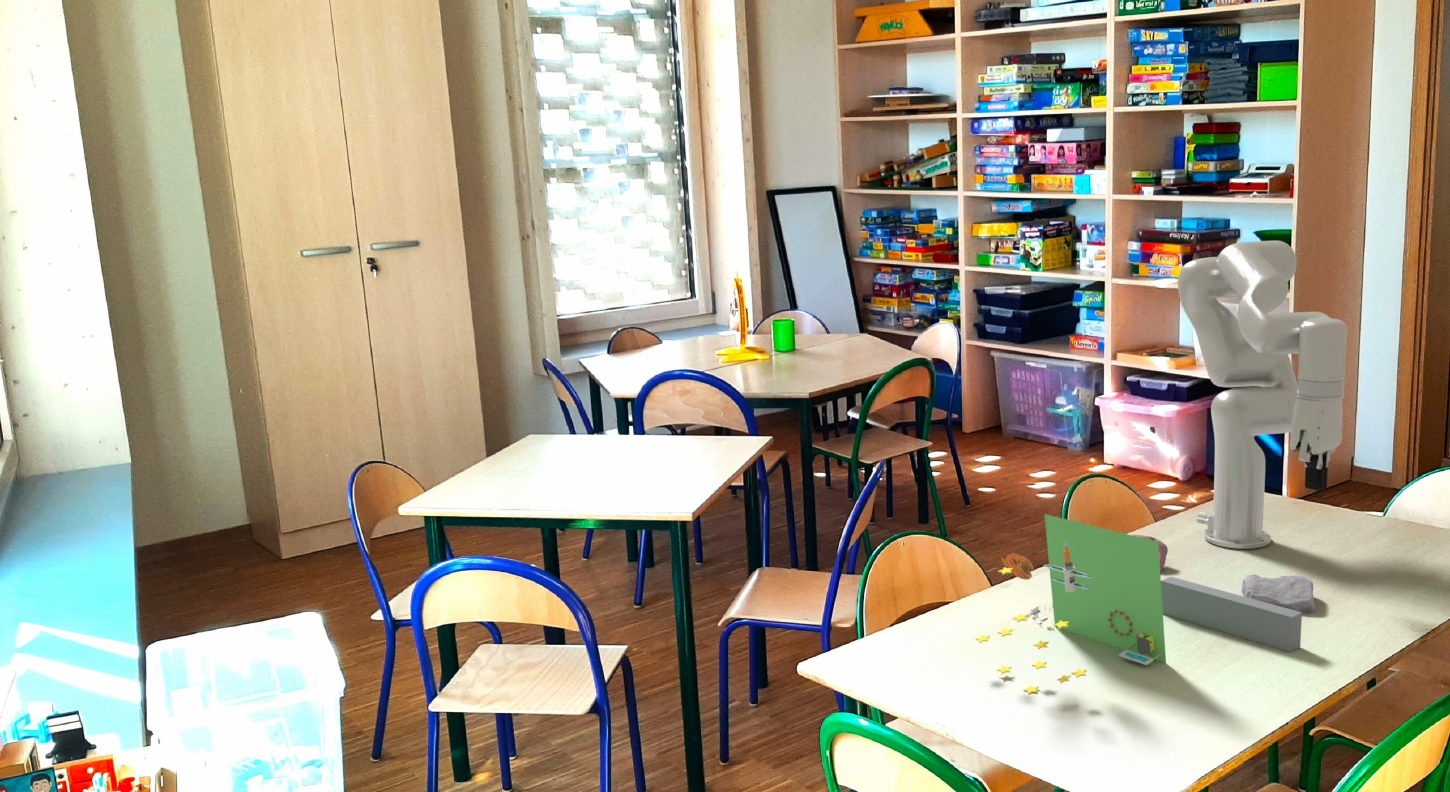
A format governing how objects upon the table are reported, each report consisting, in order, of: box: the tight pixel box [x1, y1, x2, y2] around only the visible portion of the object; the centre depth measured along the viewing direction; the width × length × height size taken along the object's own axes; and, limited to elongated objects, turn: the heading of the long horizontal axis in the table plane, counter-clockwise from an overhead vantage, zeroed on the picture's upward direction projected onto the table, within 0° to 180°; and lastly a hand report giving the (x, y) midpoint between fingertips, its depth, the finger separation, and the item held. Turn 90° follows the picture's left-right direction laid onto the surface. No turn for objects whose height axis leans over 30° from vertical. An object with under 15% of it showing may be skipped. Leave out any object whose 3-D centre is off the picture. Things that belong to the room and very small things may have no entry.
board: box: [1161, 576, 1303, 653], centre depth 213 cm, size 24×3×6 cm, turn 38°
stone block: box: [1241, 574, 1316, 613], centre depth 225 cm, size 12×5×10 cm
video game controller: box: [1131, 534, 1169, 573], centre depth 246 cm, size 10×5×7 cm, turn 58°
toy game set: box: [975, 513, 1167, 695], centre depth 200 cm, size 22×25×24 cm
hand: (1315, 488), depth 226 cm, fingers closed
